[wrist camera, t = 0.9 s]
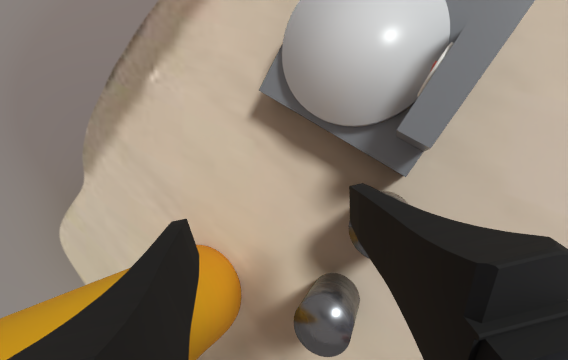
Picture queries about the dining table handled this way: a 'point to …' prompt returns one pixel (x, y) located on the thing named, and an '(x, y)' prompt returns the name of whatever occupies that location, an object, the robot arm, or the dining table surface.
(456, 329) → the robot arm
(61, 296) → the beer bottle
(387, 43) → the dial scale
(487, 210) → the dining table surface
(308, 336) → the cylinder
